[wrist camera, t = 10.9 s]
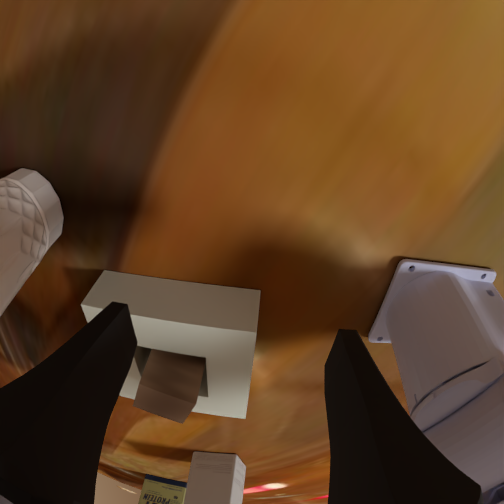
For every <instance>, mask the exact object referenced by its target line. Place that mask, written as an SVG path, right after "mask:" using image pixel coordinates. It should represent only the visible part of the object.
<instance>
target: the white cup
mask: <svg viewBox="0 0 504 504" xmlns="http://www.w3.org/2000/svg"><path fill="white" fill-rule="evenodd" d="M63 220H64V216H63V212H62V208H61V203H60V199H59V197H58V196H57V194H56V192H55V191H54V189H53V187H52V186H51V184H50V182H49V181H48V180H46V179H45V178H44V177H43V176H42V175H40V174H39V173H38V172H37V171H34V170H30V169H25V168H21V169H19V170H17V171H15V172H13V173H11V174H9V175H7V176H5V177H4V178H1V179H0V317H1V315H2V314H3V312H4V311H5V309H6V308H7V306H8V305H9V304H10V302H11V301H12V299H13V298H14V297H15V295H16V294H17V293H18V291H19V290H20V289H21V288H22V286H23V285H24V283H25V281H26V280H27V279H28V277H29V276H30V275H31V274H32V273H33V271H34V270H35V268H36V267H37V265H38V264H39V263H40V262H41V261H42V258H43V256H44V255H45V253H46V252H47V251H48V249H49V248H50V247H51V246H52V245H53V244H54V242H55V241H56V240H57V239H58V237H59V236H60V235H61V233H62V227H63Z"/></svg>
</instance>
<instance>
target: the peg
mask: <svg viewBox="0 0 504 504" xmlns="http://www.w3.org/2000/svg"><path fill="white" fill-rule="evenodd" d="M205 363H206V358H205V357H198V356H192V355H186V354H180V353H174V352H168V351H162V350H157V349H152V350H151V353H150V355H149V358H148V361H147V363H146V366H145V369H144V371H143V374H142V377H141V379H140V382H139V385H138V389H137V393H136V396H135V400H134V404H133V406H135V407H137V408H140V409H142V410H145V411H148V412H150V413H153V414H156V415H159V416H161V417H164V418H167V419H170V420H173V421H176V422H179V423H182V424H183V422H184V421H185V419H186V418H187V417H188V415H189V414H190V412H191V411H192V410H193V408H194V407H195V405H196V403H197V398H198V394H199V389H200V385H201V380H202V376H203V371H204V367H205Z"/></svg>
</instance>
